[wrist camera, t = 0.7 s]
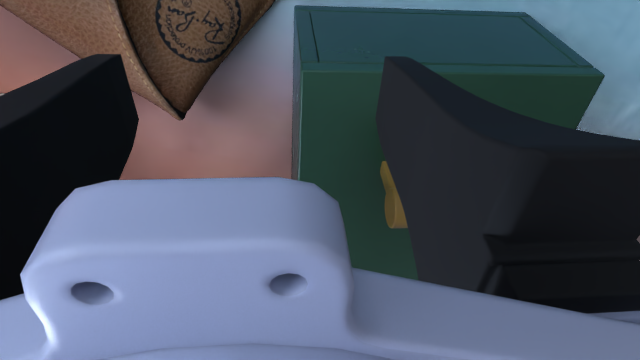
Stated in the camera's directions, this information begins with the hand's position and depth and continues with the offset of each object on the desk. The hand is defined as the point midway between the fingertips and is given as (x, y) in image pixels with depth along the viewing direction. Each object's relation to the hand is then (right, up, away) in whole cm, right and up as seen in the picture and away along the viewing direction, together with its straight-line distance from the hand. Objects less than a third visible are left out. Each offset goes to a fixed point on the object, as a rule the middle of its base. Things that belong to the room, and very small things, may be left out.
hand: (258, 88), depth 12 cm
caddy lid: (+7, -3, +9) cm, 12 cm away
